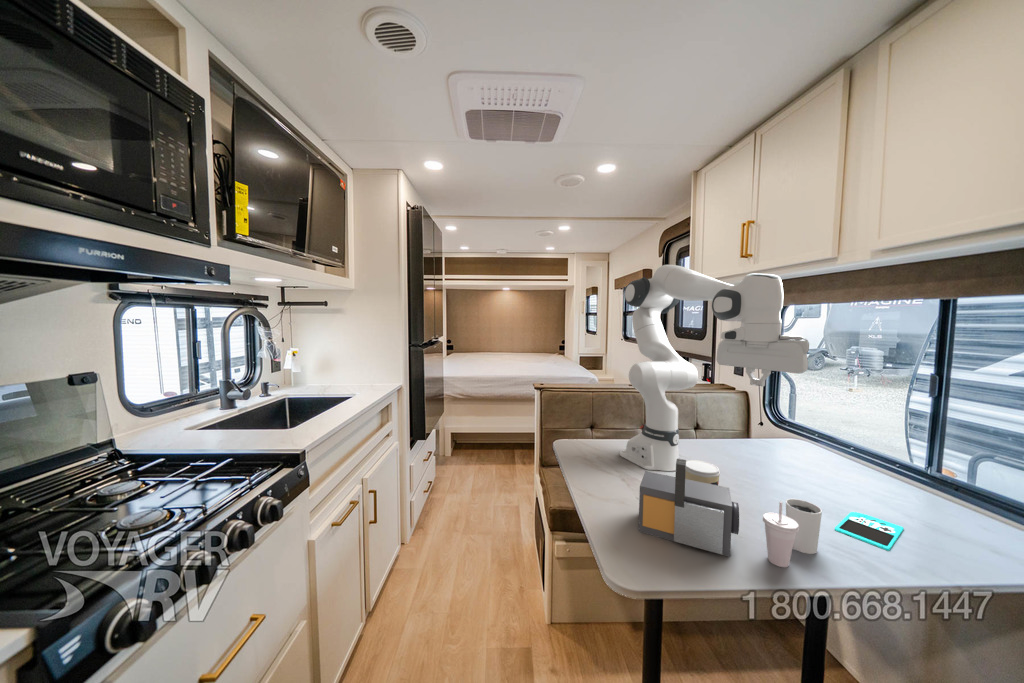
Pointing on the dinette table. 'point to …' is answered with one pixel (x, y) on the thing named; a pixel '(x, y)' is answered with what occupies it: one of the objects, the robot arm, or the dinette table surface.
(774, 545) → the smoothie
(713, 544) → the side door
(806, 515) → the white cylindrical cup
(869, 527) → the handheld game console
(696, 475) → the coffee cup
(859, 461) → the dinette table surface
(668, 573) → the dinette table surface
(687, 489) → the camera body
